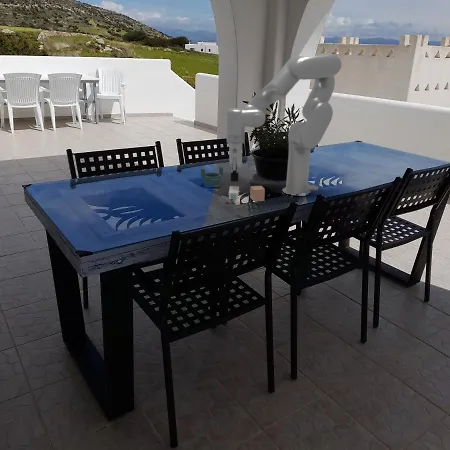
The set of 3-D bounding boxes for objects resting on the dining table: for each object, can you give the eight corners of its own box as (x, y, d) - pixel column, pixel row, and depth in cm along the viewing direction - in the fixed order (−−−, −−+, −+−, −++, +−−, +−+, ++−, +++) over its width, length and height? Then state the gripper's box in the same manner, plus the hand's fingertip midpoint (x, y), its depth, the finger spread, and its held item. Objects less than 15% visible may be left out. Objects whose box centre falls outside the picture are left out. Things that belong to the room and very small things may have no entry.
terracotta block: (260, 198, 190) (261, 185, 188) (264, 202, 186) (264, 189, 183) (249, 199, 189) (250, 186, 187) (252, 203, 185) (253, 189, 183)
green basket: (199, 186, 205) (199, 168, 202) (209, 181, 213) (209, 163, 209) (216, 189, 202) (216, 170, 198) (225, 184, 209) (225, 166, 206)
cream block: (238, 186, 192) (238, 192, 183) (238, 195, 193) (237, 201, 185) (229, 186, 192) (228, 192, 184) (229, 194, 194) (228, 201, 185)
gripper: (244, 142, 176) (242, 186, 183) (244, 135, 190) (243, 176, 197) (225, 142, 176) (224, 185, 183) (227, 135, 190) (226, 175, 197)
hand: (234, 180), depth 190 cm, fingers closed
